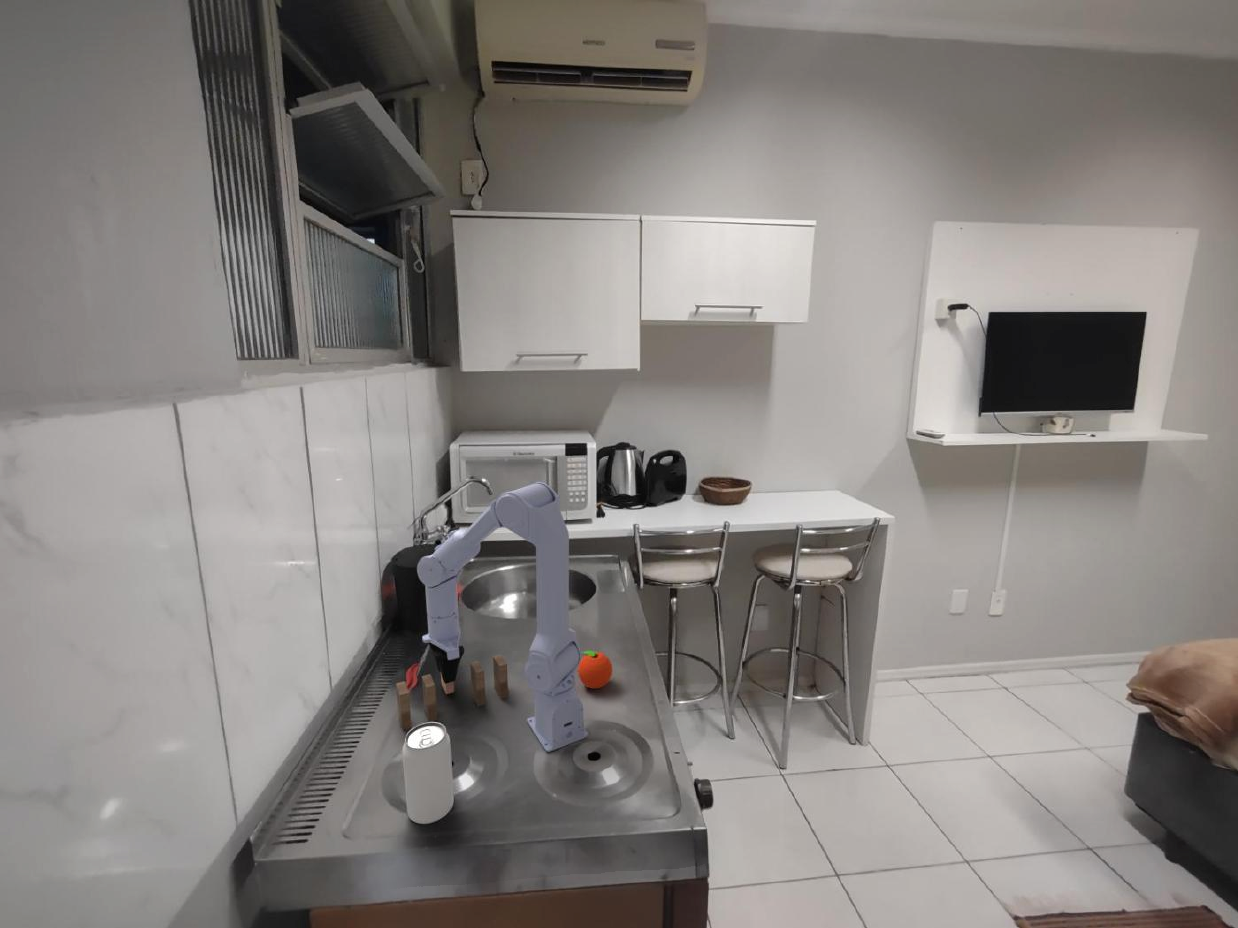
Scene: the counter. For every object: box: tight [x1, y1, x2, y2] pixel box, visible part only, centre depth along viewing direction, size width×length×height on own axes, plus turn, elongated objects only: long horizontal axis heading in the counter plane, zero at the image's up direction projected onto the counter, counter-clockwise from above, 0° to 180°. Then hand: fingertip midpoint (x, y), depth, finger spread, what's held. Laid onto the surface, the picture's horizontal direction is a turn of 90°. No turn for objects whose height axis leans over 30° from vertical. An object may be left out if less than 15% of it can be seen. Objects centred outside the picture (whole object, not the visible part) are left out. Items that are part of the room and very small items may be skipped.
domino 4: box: [470, 660, 487, 707], centre depth 103 cm, size 4×2×7 cm, turn 31°
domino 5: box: [492, 654, 509, 700], centre depth 105 cm, size 4×2×7 cm, turn 31°
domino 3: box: [440, 673, 455, 695], centre depth 106 cm, size 4×2×7 cm, turn 31°
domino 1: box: [395, 681, 412, 731], centre depth 96 cm, size 4×2×7 cm, turn 31°
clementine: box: [577, 650, 613, 689], centre depth 108 cm, size 8×7×7 cm
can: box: [402, 721, 455, 825], centre depth 77 cm, size 6×6×12 cm
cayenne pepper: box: [405, 662, 421, 692], centre depth 110 cm, size 12×5×2 cm, turn 171°
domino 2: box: [421, 673, 438, 722], centre depth 98 cm, size 4×2×7 cm, turn 31°
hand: (446, 675), depth 106 cm, fingers closed on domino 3, 4 cm apart
